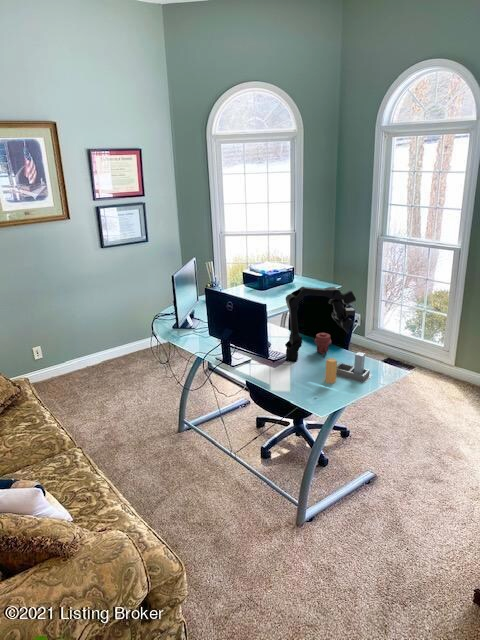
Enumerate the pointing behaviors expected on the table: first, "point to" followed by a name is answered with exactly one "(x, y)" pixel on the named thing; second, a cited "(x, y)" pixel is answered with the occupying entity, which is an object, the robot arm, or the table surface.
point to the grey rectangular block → (359, 363)
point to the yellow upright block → (331, 370)
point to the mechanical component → (322, 342)
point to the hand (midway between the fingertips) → (345, 330)
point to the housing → (352, 373)
